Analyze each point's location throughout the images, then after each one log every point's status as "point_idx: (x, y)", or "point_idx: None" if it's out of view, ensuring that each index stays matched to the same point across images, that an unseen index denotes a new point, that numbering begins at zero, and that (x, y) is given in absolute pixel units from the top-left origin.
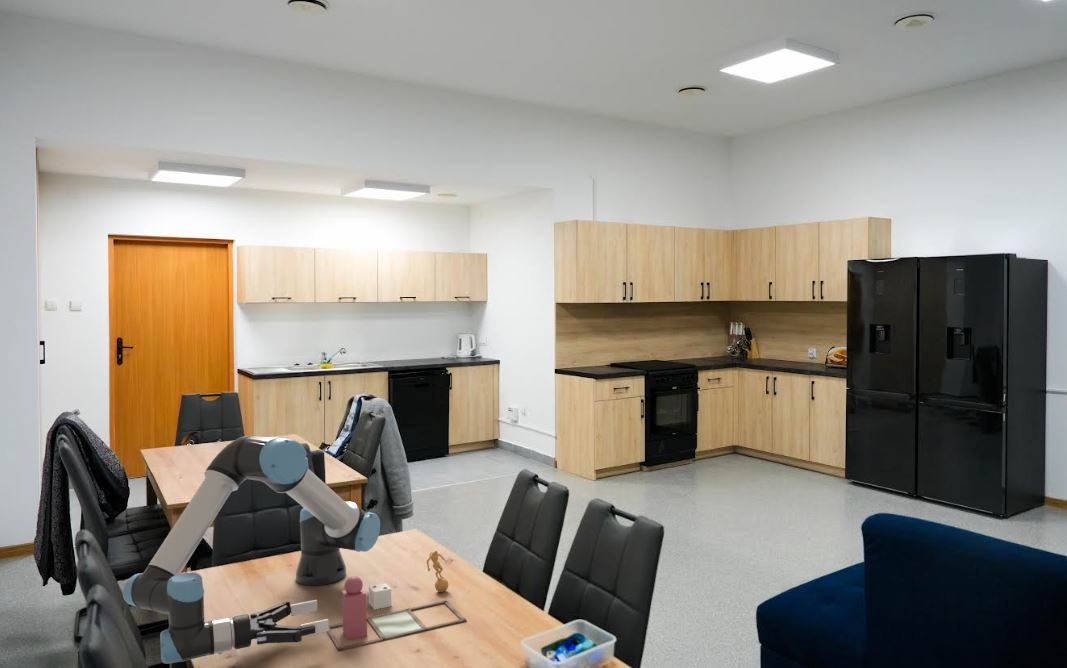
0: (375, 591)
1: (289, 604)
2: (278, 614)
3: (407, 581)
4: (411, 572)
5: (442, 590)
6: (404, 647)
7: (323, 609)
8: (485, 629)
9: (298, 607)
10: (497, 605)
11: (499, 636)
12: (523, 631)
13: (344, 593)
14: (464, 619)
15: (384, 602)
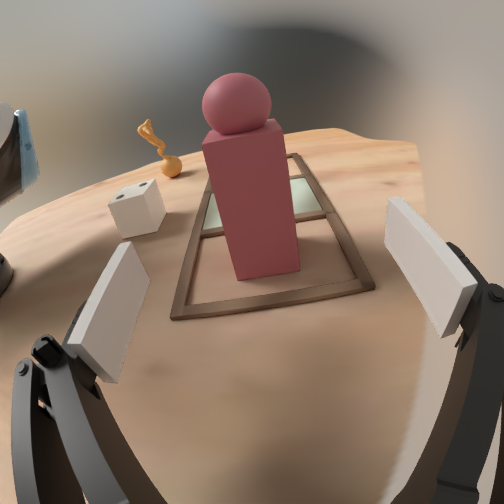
0: (143, 192)
1: (60, 347)
2: (111, 450)
3: (102, 206)
4: (84, 206)
5: (180, 169)
6: (375, 193)
7: (65, 311)
8: (332, 147)
9: (106, 322)
10: None
11: (356, 142)
12: (347, 135)
13: (234, 136)
14: (294, 153)
15: (159, 209)
